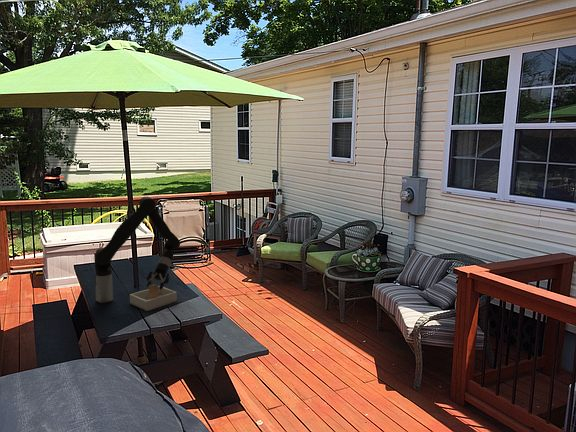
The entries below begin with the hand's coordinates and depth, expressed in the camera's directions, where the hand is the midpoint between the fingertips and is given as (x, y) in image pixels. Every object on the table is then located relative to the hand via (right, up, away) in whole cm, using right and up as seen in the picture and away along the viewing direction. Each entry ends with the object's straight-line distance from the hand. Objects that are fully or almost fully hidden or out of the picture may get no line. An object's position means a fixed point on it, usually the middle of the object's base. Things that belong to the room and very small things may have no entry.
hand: (154, 288), depth 286 cm
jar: (-1, -8, +1) cm, 8 cm away
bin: (-1, -9, +1) cm, 9 cm away
